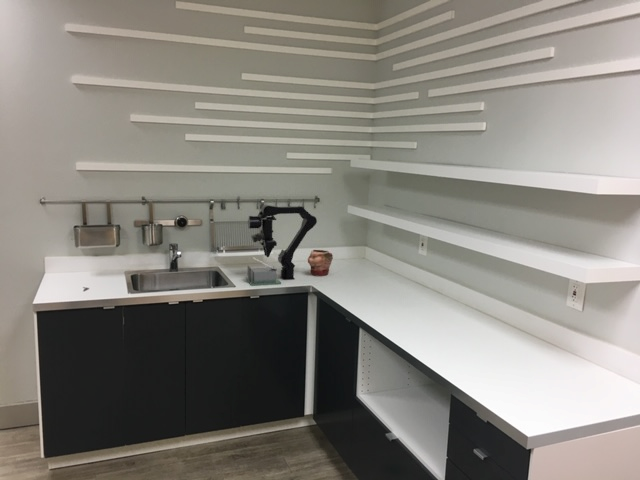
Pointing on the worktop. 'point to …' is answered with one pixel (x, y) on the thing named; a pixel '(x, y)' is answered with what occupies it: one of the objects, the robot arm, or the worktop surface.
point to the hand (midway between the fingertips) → (266, 256)
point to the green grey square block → (262, 276)
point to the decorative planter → (320, 262)
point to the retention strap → (264, 263)
